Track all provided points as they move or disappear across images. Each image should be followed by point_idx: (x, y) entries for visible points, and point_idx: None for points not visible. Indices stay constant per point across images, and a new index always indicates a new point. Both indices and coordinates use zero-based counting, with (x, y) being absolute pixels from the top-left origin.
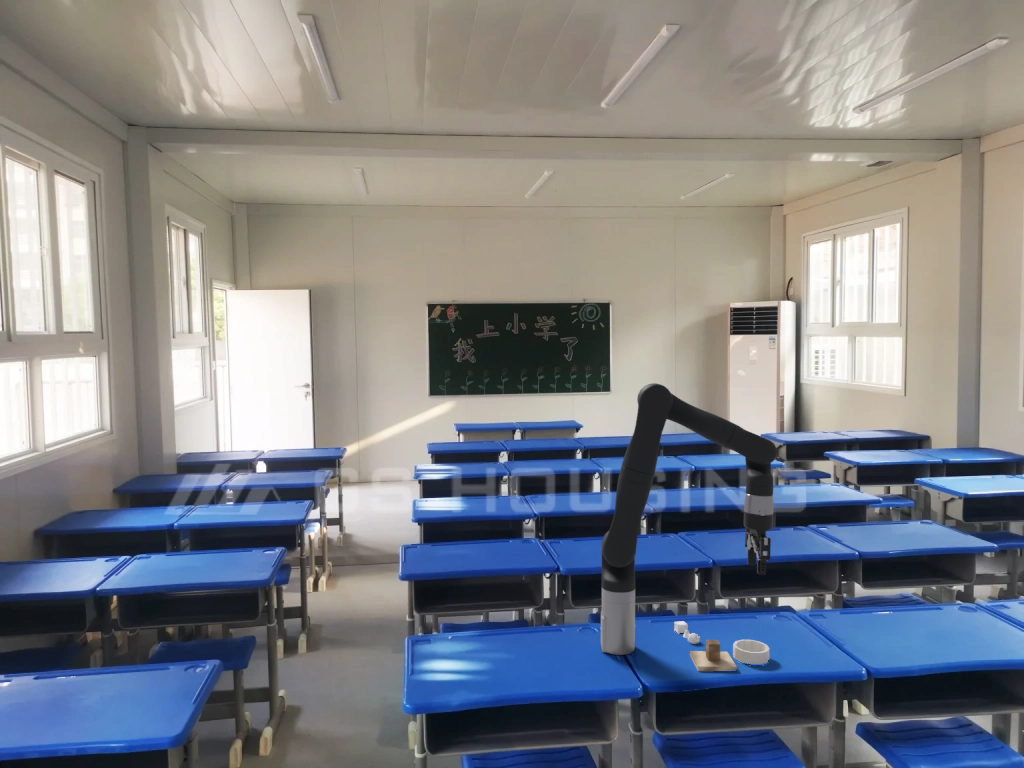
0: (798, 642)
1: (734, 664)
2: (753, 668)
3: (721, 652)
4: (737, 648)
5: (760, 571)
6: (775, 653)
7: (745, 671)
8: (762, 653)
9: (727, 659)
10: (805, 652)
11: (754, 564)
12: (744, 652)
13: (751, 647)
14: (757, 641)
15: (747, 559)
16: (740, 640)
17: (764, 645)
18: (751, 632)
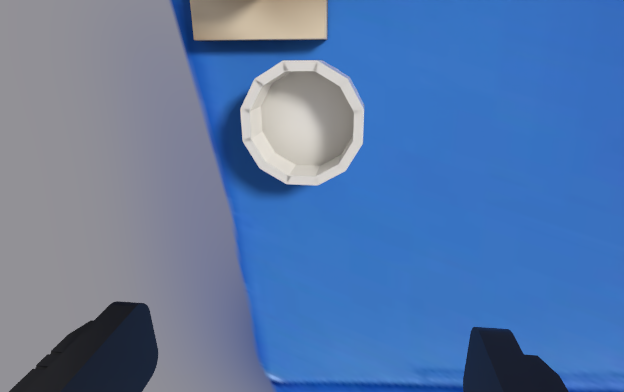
0: (450, 306)
1: (215, 36)
2: None
3: (316, 13)
4: (275, 66)
5: (69, 336)
6: (365, 212)
7: (221, 74)
8: (247, 147)
9: (254, 21)
10: (373, 295)
11: (466, 389)
12: (252, 86)
13: (352, 138)
14: (346, 163)
15: (532, 373)
16: (355, 101)
17: (313, 176)
18: (557, 196)
